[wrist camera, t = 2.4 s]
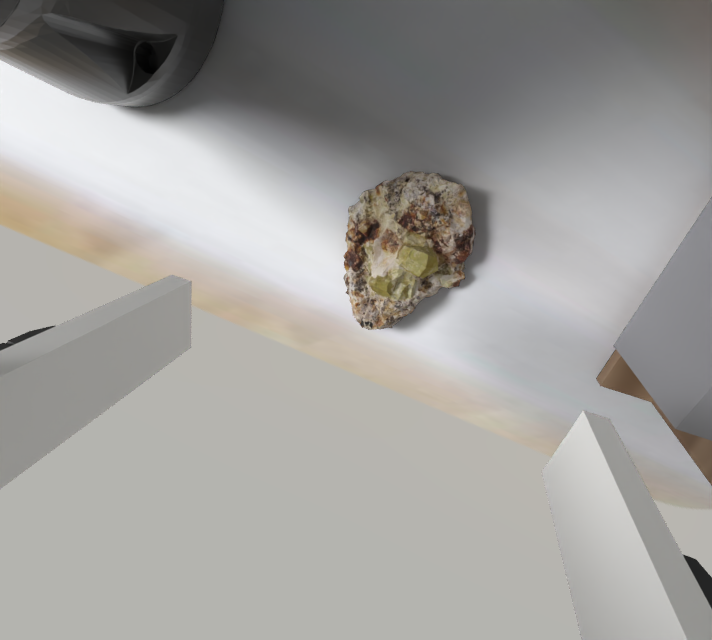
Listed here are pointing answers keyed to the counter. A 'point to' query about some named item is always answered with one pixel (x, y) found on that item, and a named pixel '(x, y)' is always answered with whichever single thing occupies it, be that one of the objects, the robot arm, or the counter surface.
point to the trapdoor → (678, 334)
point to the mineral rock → (405, 245)
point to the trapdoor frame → (623, 380)
